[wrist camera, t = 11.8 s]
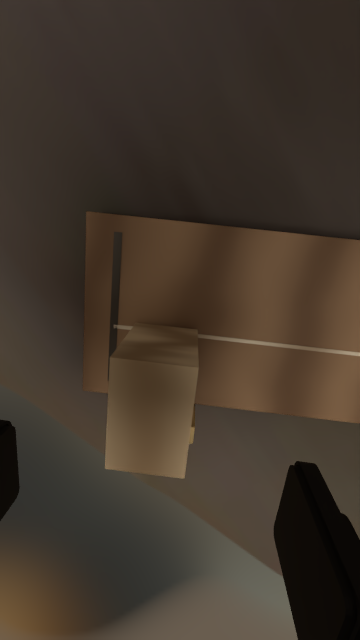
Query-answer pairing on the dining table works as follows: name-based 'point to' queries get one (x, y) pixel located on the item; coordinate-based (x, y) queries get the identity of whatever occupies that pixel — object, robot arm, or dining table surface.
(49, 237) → the dining table surface
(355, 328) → the walnut board
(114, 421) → the tan cardboard box
